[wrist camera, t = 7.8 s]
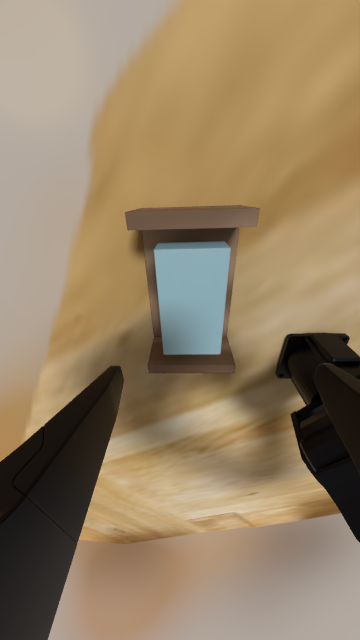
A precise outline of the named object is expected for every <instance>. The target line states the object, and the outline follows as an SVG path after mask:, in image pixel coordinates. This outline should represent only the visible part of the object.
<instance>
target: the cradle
mask: <svg viewBox="0 0 360 640" xmlns="http://www.w3.org/2000/svg"><path fill="white" fill-rule="evenodd" d="M259 209H260V208H254V207H247V206H241V205H237V206H204V207H171V208H140V209H136V210H132V211H128V212H125V216H126V223H127V230H142V236H143V244H144V253H145V262H146V270H147V279H148V287H149V296H150V305H151V313H152V322H153V331H154V340H153V345H152V349H151V353H150V358H149V362H148V370H149V373H234V369H235V363H234V360H233V356H232V353H231V349H230V346H229V343H228V339H227V330H228V322H229V313H230V304H231V296H232V287H233V278H234V270H235V261H236V252H237V244H238V235H239V227H257V222H258V215H259ZM206 241H225V242H226V243H227V244H228V245H229V247H230V248H231V250H230V260H229V270H228V281H227V291H226V301H225V311H224V322H223V332H222V342H221V352H220V354H179V355H164V353H163V342H162V331H161V321H160V310H159V299H158V289H157V278H156V267H155V256H154V249H155V247H156V246H157V244H158V243H167V242H206Z"/></svg>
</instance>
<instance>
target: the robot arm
mask: <svg viewBox="0 0 360 640" xmlns="http://www.w3.org/2000/svg"><path fill="white" fill-rule="evenodd" d="M292 338H293V339H292ZM349 339H350V338H349V336H348V335H346V334H334V333H322V334H290V335H288V336H287V339H286V342H285V345H284V348H283V352H282V355H281V358H280V361H279V365H278V368H277V371H276V375H277V377H278V378H291V380H292V382H293V383H294V385H295V387H296V389H297V390H298V392H299V394H300V395H301V397H302V399H303V401H304V402H305V404H306V406H305V407H303V408H302V409H300V410H298V411H297V412H296V411H294V412H293V413H291V418H292V422H293V426H294V430H295V434H296V438H297V442H298V446H299V450H300V454H301V457H302V460H303V461H304V463H305V464H306V466H307V468H308V469H309V470H310V472H311V473H312V474H313V476H314V477H315V478H316V480H317V481H318V482H319V483H320V484H321V485H322V486H323V487H324V488H325V489H326V491H327V492H328V493H329V495H330V496H331V498H332V499H333V501H334V502H335V504H336V505H337V507H338V508H339V510H340V512H341V513H342V515H343V517H344V519H345V520H346V522H347V524H348V525H349V527H350V529H351V531H352V532H353V534H354V536H355V537H356V539H357V540H358V541H359V542H360V357H359V356H358V355H357V354H356V353H355V352H354V351H353V350H352V349H351V348H350V347H349V346H348V345H347V343H348V341H349ZM123 383H124V378H123V374H122V371H121V367H120V366H110V367H109V368H108V369H107V370H106V371H104V372H103V373H102V374H101V375H100V376H99V377H98V378H97V379H95V380H94V381H93V382H92V383H91V384H90V385H89V386H88V387H86V388H85V389H84V390H83V391H82V392H81V393H80V394H79V395H77V396H76V397H75V398H74V399H73V400H72V401H71V402H70V403H68V404H67V405H66V406H65V407H64V408H63V409H62V410H61V411H59V412H58V413H57V414H56V415H55V416H54V417H53V418H51V419H50V420H49V421H48V422H47V423H46V424H45V425H44V426H43V427H41V428H40V429H39V430H38V431H37V432H36V433H35V434H33V435H32V436H31V437H30V438H29V439H28V440H26V441H25V442H24V443H23V444H22V445H21V446H19V447H18V448H17V449H16V450H14V451H13V452H12V453H11V454H10V455H9V456H7V457H6V458H5V459H3V460H2V461H1V462H0V640H48V637H49V633H50V630H51V627H52V624H53V621H54V617H55V614H56V611H57V608H58V604H59V601H60V598H61V595H62V591H63V588H64V585H65V582H66V579H67V575H68V572H69V569H70V566H71V562H72V559H73V556H74V553H75V549H76V546H77V542H78V540H79V536H80V533H81V530H82V527H83V524H84V520H85V517H86V514H87V511H88V507H89V504H90V501H91V498H92V495H93V491H94V488H95V485H96V482H97V478H98V475H99V472H100V469H101V466H102V462H103V459H104V456H105V453H106V450H107V446H108V443H109V440H110V437H111V433H112V430H113V427H114V424H115V421H116V417H117V413H118V409H119V403H120V398H121V393H122V388H123Z"/></svg>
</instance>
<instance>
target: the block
mask: <svg viewBox="0 0 360 640" xmlns="http://www.w3.org/2000/svg"><path fill="white" fill-rule="evenodd" d="M230 250H231V248H230V247H229V245H228V244H227V243H226V242H225V241H206V242H167V243H158V244H157V246H156V247H155V249H154V256H155V267H156V278H157V289H158V299H159V310H160V321H161V331H162V342H163V353H164V355H179V354H220V352H221V342H222V332H223V322H224V311H225V301H226V291H227V281H228V270H229V260H230Z"/></svg>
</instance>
